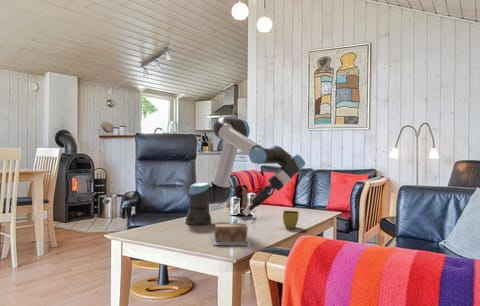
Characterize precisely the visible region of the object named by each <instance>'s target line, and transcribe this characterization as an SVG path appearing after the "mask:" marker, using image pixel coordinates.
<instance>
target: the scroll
mask: <svg viewBox="0 0 480 306" xmlns="http://www.w3.org/2000/svg"><path fill="white" fill-rule="evenodd" d="M248 191H249V188H248V186H247V185H246V184H243V185H237V186H235V192H236V196H235V198H236V197H237V198H239V199H240V213H241V214H244V213H243V212H242V211H243V210H244V209H245V208H246V207H247V206H248V204H247V202H248ZM237 198H236V199H237ZM241 214H240V215H241Z"/></svg>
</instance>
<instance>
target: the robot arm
mask: <svg viewBox="0 0 480 306" xmlns="http://www.w3.org/2000/svg"><path fill="white" fill-rule="evenodd" d="M212 131H213V135H215V136H216V137H217V138H218V139H220V140H221V141H223V142H224V143H223V148H222V150H221V155H220V159H219V161H218V166H217V169H216V174H215V177H214V178H213V179H211V181H210V183H209V182H196V183H193V184H191V185H190V186H189V191H188V193H189V196H188V197H189V199H188V212H187V214H186V217H185V223H186V224H187V225H191V226H192V225H193V226H207V225H211V224H212V216H211V213H210V205H216V204H225V203H228V202H229V201H230V200H231V198H232V195H233V189H232V187H231V183H230V180H231V179H230V178H231V174H232V170H233V167H234V163H235V161H236V157H237V154H238V150H239V151H240V152H242V153H243V154H245V155H246V156H248V157H249V160H250V162H251V163H252V164H257V165H262V164H263V165H264V164H265V165H267V164H268V165H269V164H270V165H273V164H277V165H278V166H279V167H280V168H279V169H277V170H276V172H275V173H274V174H273V175H271V177H269V178H268V180H267V181H268V183H269V184H268V185H265V186H264V187H262V189H260V191H259V192H258V193H257V194H256V195H255V197H253V199H252V200H251V202H250V204H247V207H246V208H245V209H244V210H243V211H242V212H243V213H244V214H245V215H244V216H246V217H247V216H249V215H250V214H249V213H250V212H251V211H252V212H253V210H254V209H255V208H257V207H259V206H261V204H262V203H264V202H265V201H266V200H268V199H269V198H270V197H271V196H272V195H274V193H275V190H276V191H278V192H279V191H281V189H282V188H284V186H285V185H287V183H288V184H289V183H290V181H291V180H292V179H293V178H294V177H295V176H296V175H297V174H298V173H299V172H300V171H301V170H302V169H303V168H304V167H305V165H306V162H305V160H304V158H303V157H302V156H301V155H299V154H298V153H294V154H293V155H292V154H290V153H289V152H288V151H286V150H285V149H283V147H281V146H279V145H278V144H277V145H274V146H271V147H270V148H267V147H263V146H261V145H259V144H258V143H257V142H255V141H254V140H252V139H250V138H249V137H250V131H251V129H250V126H249V122H248V121H246V120H245V119H242V118H235V117H234V118H233V117H220V118H218V119H216V121H214V123H213V125H212Z"/></svg>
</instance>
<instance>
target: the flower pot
mask: <svg viewBox="0 0 480 306" xmlns="http://www.w3.org/2000/svg"><path fill="white" fill-rule="evenodd" d="M299 213H300V211H298V210H283V212H282V220H283V225H284V227H285V228H286V229H293V228H294V229H296V227H297V225H298V222H299V215H300V214H299Z"/></svg>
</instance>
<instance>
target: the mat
mask: <svg viewBox="0 0 480 306" xmlns="http://www.w3.org/2000/svg"><path fill="white" fill-rule="evenodd" d="M209 237H210V241H211V240H212V241H211V243H213V244H212V246H213V245H247V243H246V242H216V241H215V235H210V236H209ZM247 246H248V245H247Z"/></svg>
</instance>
